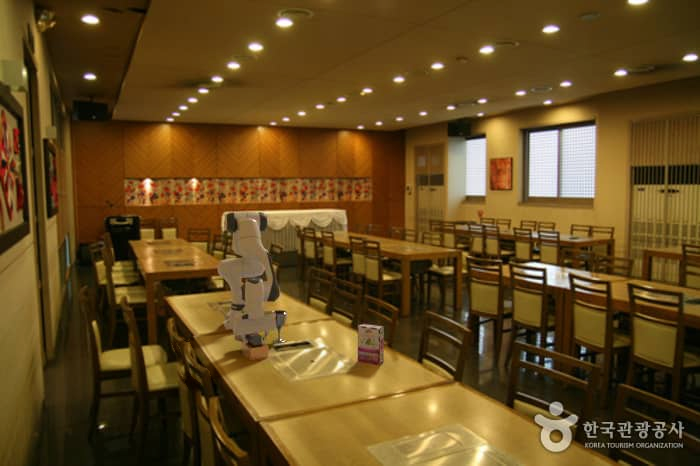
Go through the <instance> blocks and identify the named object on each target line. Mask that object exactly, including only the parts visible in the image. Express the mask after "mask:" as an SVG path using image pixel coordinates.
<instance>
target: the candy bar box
mask: <svg viewBox="0 0 700 466" xmlns="http://www.w3.org/2000/svg"><path fill="white" fill-rule="evenodd" d="M384 355H385V326H382V325H376V324H369V323H368V324H367V323H361V324H359V325H357V361H358V362H363V363H366V364H367V363H368V364H373V365H381V364H382V363H384V361H385V358H384V357H385V356H384Z"/></svg>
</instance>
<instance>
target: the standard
mask: <svg viewBox="0 0 700 466" xmlns="http://www.w3.org/2000/svg"><path fill="white" fill-rule="evenodd" d="M244 309H245V308H244ZM242 310H243V309H242ZM258 334H259V333H258ZM259 335H261V334H259ZM244 338H245V339H247V340H248V343H247V344H244V343H243V339H242V337H241V335H239V336H236V335H235V334H234V340H235V341H238V342H241V343H242V344H241V345H242V355H243V356H245V357H246V358H247V359H248V360H249V361H255V360H263V359H266V358H269V345H268V344H266V343H265V342H264V341H262V346H258V347H251V346H250V345H249V334H246V335H245V337H244Z"/></svg>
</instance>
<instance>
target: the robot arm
mask: <svg viewBox="0 0 700 466" xmlns="http://www.w3.org/2000/svg"><path fill="white" fill-rule="evenodd" d="M223 221H224V222H223V223H224V227H225V228H224V229H225V230H226V231H227V232H228V233H232V245H231V247H232V251H233V252H234V253H235V254H236V255H239V256H241V257H233V258H225V259H222V260H220V261H219V262H218V265H217V273H218V275H219V277H221V278H222V279H224V280H225V282H227V284H228V285H229V287H230V293H231V294H230V295H231V303H230V309H229V311H228V312H227V313H226V315H224V319H225V320H224V321H222V324H223V327H224V328H225V330H228V331H231V330H232V333H233V334H234V336H235V335H236V336H239V335H241V337H242V339H243V341H242V343H244V344H247V343H248V340H247V339H245V338H244V337H245V335H246V334H253V333H258V334H259V333H265V334H264V335H263V336H262V342H265V341H267V340H268V339H267V338H268V336H269V335H270V331H276V330H277V328H276V320H275V318H276V313H275V312H274V311H275V310H269V311H267V310H266V311H265V302H268V303H269V302H270V303H274V302H276V301H277V300H278V299H279V298H280V297H281V295H280V294H281V288H280V285H279V283H278V279H277V276H276V272H275V267H274V264H273V261H272V257H271V254H270V252H269V250H268V249H266V248H265V247H264V245H263V242H262V235H261V233H263V232H265V231H266V230H267V228H268V225H269V219H268V216H267V214H266V213H265V212H262V211H259V212H256V211H237V212H234V211H233V212H228V213H227V214H225V217H224V220H223ZM264 272H265V275H266V279H267V280H266V281H265V280H264V281H263V279H262V278H261V277H258V276H262V275H263V274H264ZM242 278H245V279H246V280H245V282H243V281H242ZM244 308H245V309H244ZM242 309H243V310H242ZM273 312H274V313H273Z"/></svg>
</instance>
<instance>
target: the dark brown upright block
mask: <svg viewBox="0 0 700 466" xmlns="http://www.w3.org/2000/svg"><path fill="white" fill-rule="evenodd" d="M262 342H263V336H262V335H261V334H260V335H259V333H253V334H249V345H250V346H251V347H258V346H262Z"/></svg>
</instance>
